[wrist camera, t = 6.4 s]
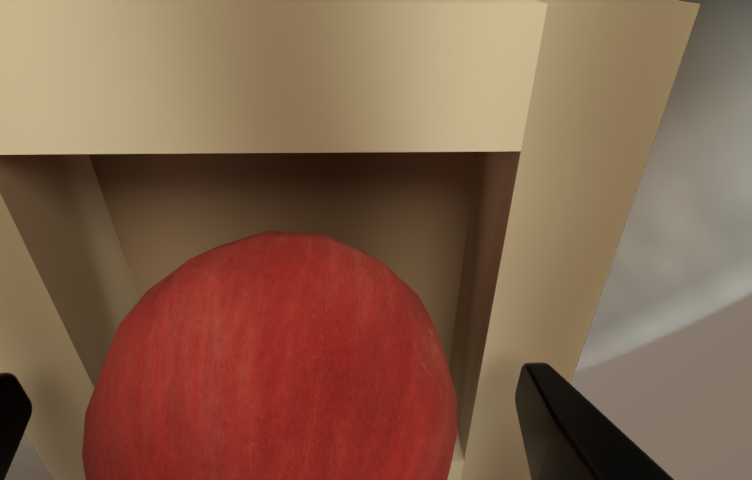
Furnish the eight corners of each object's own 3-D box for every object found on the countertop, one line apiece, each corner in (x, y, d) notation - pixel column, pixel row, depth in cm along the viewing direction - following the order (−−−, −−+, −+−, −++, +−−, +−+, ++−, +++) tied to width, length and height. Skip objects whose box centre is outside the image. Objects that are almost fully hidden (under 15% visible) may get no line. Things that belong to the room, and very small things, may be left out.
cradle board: (119, 408, 16) (52, 535, 13) (-104, -81, 9) (-421, -101, 5) (516, 400, 16) (558, 520, 13) (638, -75, 9) (815, -91, 5)
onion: (433, 322, 12) (570, 762, 6) (233, 379, 13) (149, 856, 6) (374, 124, 9) (533, 603, 3) (109, 208, 10) (-351, 823, 3)
